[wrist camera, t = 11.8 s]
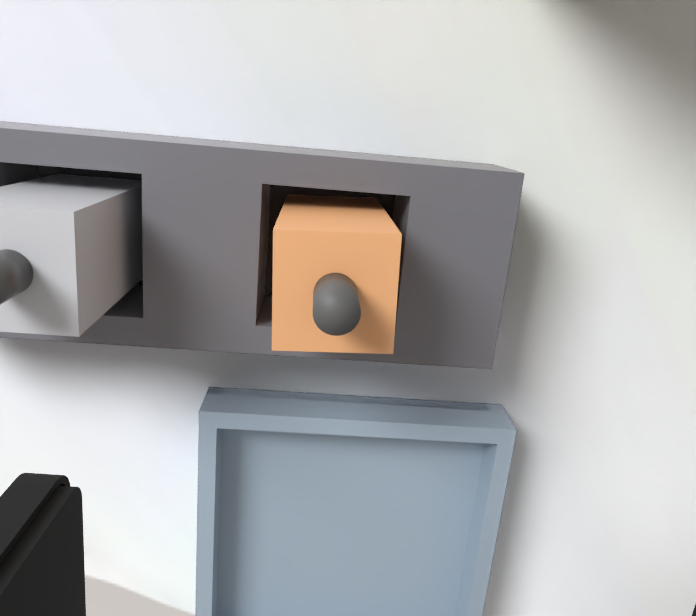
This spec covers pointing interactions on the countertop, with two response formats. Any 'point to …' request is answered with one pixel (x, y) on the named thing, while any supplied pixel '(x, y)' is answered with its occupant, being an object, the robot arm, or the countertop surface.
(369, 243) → the plug
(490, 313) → the grey two-slot holder
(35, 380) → the countertop surface
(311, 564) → the tray
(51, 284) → the twin plug
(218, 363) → the countertop surface
